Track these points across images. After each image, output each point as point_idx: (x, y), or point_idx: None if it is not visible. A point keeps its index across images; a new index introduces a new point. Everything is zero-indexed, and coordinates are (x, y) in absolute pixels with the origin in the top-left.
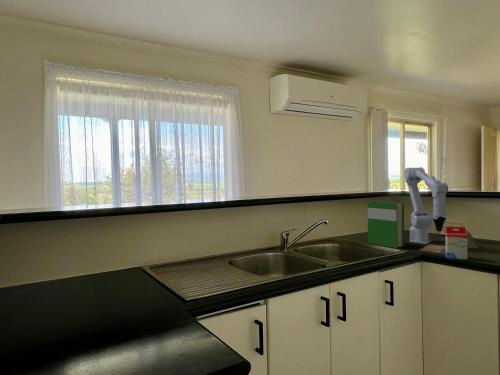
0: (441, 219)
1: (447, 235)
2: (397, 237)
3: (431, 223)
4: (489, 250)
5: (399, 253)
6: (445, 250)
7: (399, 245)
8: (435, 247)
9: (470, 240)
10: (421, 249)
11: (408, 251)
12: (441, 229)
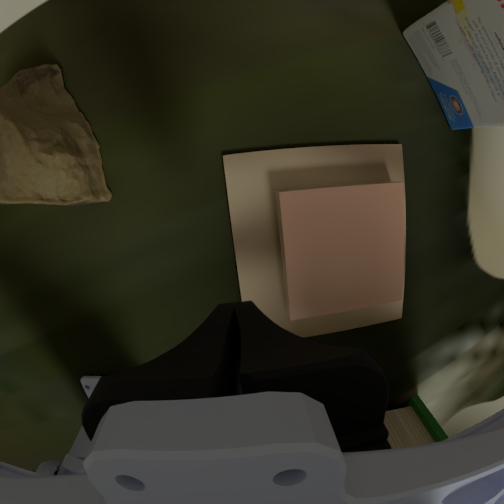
0: (384, 391)
1: None
2: (439, 437)
3: (48, 466)
4: (76, 5)
5: (489, 333)
6: (307, 180)
7: (387, 415)
8: (374, 236)
9: (30, 100)
10: (380, 312)
11: (442, 335)
12: (252, 305)
